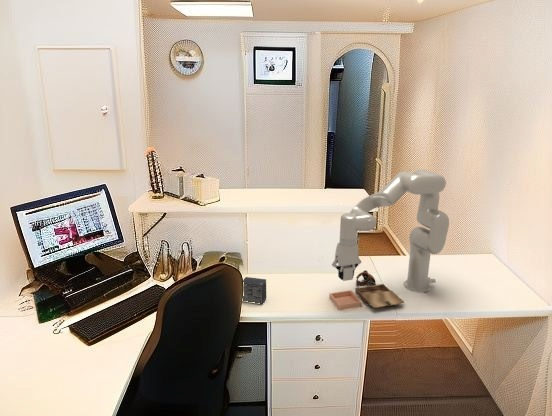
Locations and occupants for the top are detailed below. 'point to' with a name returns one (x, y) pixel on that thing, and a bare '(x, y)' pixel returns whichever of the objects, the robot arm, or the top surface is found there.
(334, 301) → the terracotta tray
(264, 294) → the small box
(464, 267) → the top surface
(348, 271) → the stone block
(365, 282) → the broken pottery ring
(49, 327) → the top surface
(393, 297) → the sliding lid wooden box
